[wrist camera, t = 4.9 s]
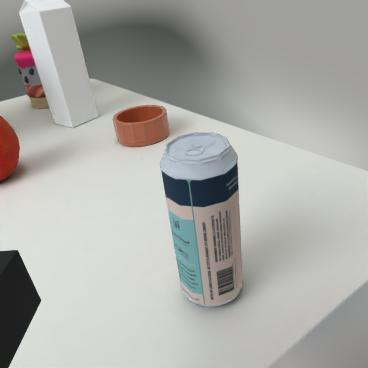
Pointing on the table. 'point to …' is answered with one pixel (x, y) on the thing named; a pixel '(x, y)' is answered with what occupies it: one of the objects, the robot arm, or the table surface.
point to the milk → (59, 60)
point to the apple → (8, 149)
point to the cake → (29, 72)
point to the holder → (141, 125)
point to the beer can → (204, 216)
